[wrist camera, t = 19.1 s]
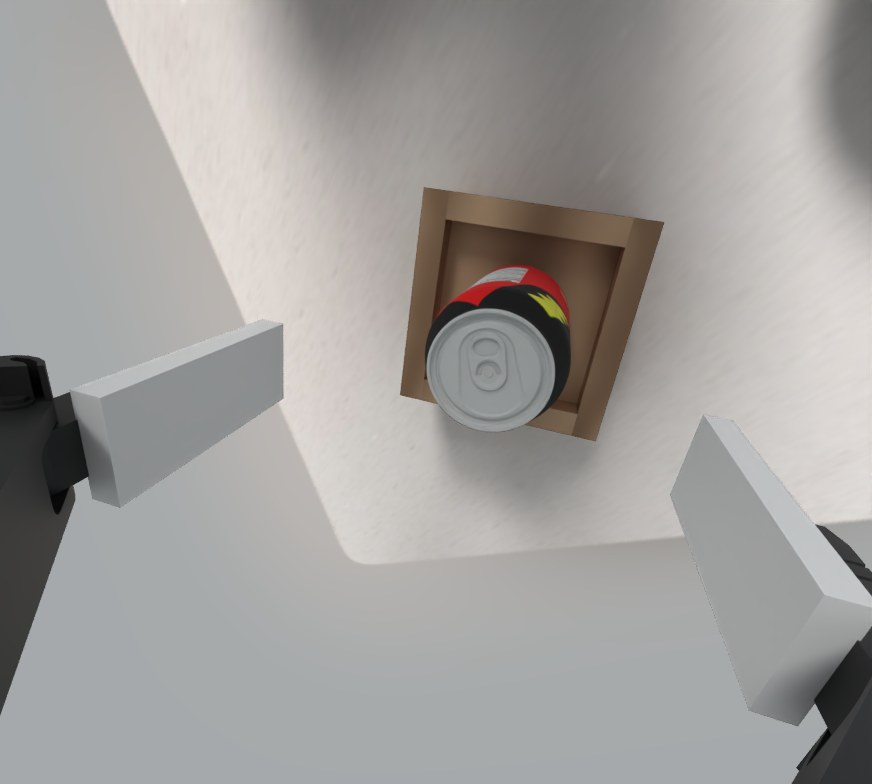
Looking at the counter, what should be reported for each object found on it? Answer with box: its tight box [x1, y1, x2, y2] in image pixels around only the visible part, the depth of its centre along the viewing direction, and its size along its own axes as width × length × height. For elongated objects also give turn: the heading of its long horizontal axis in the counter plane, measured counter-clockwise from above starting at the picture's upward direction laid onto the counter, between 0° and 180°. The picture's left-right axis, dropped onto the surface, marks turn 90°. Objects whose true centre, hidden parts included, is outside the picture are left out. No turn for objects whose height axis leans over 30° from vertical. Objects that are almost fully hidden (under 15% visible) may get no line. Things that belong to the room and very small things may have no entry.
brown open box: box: [400, 187, 664, 441], centre depth 31 cm, size 13×13×8 cm
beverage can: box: [425, 265, 571, 432], centre depth 23 cm, size 6×6×12 cm
